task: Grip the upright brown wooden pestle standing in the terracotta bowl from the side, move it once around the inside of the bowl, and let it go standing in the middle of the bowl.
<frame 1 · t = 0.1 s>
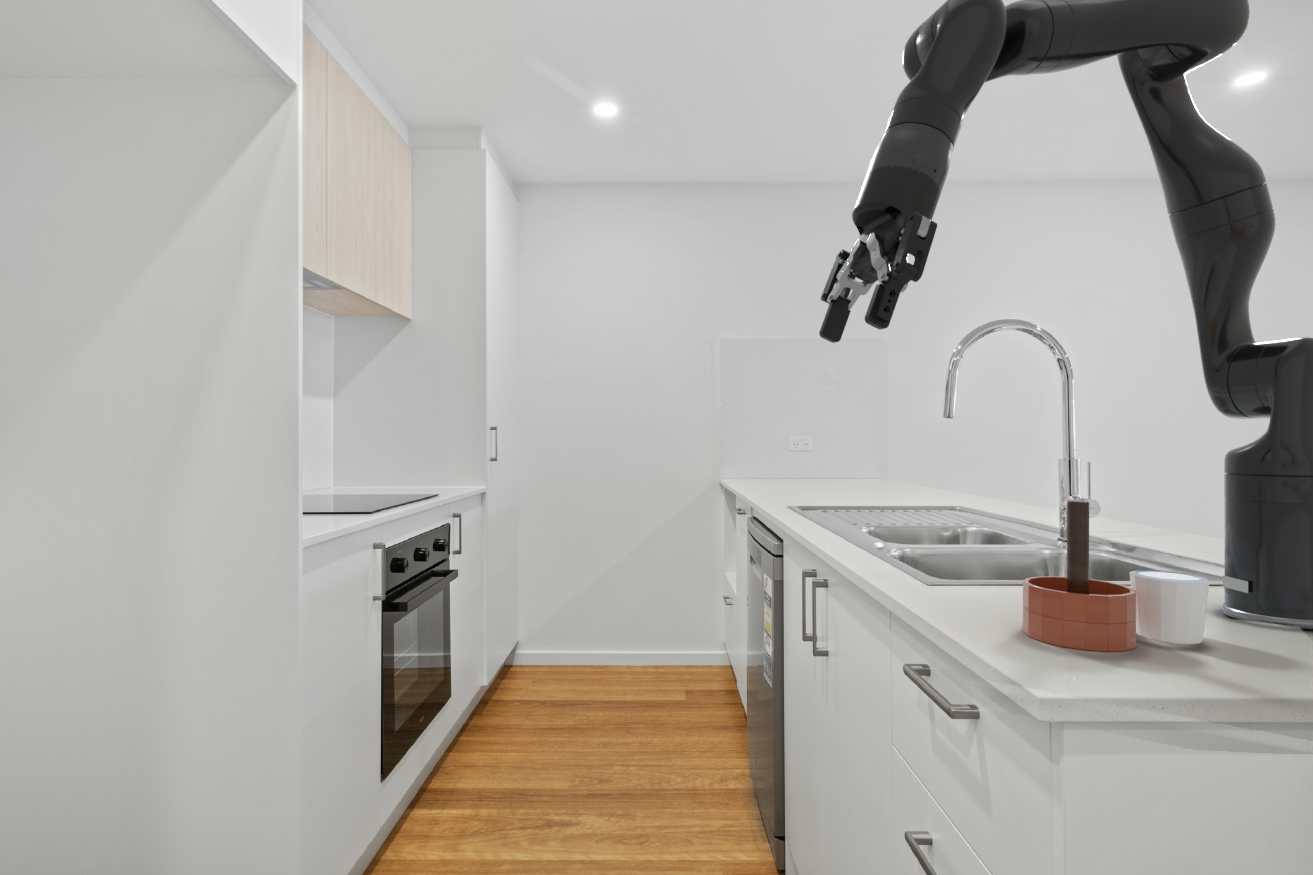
hand: (850, 333, 68), 31 cm above the table, tool tilted 20°, fingers open, 8 cm apart
brown wooden pestle: (1077, 637, 72), point 1 cm above the table, touching bowl
bowl: (1077, 642, 72), on the table
shot glass: (1168, 643, 73), on the table
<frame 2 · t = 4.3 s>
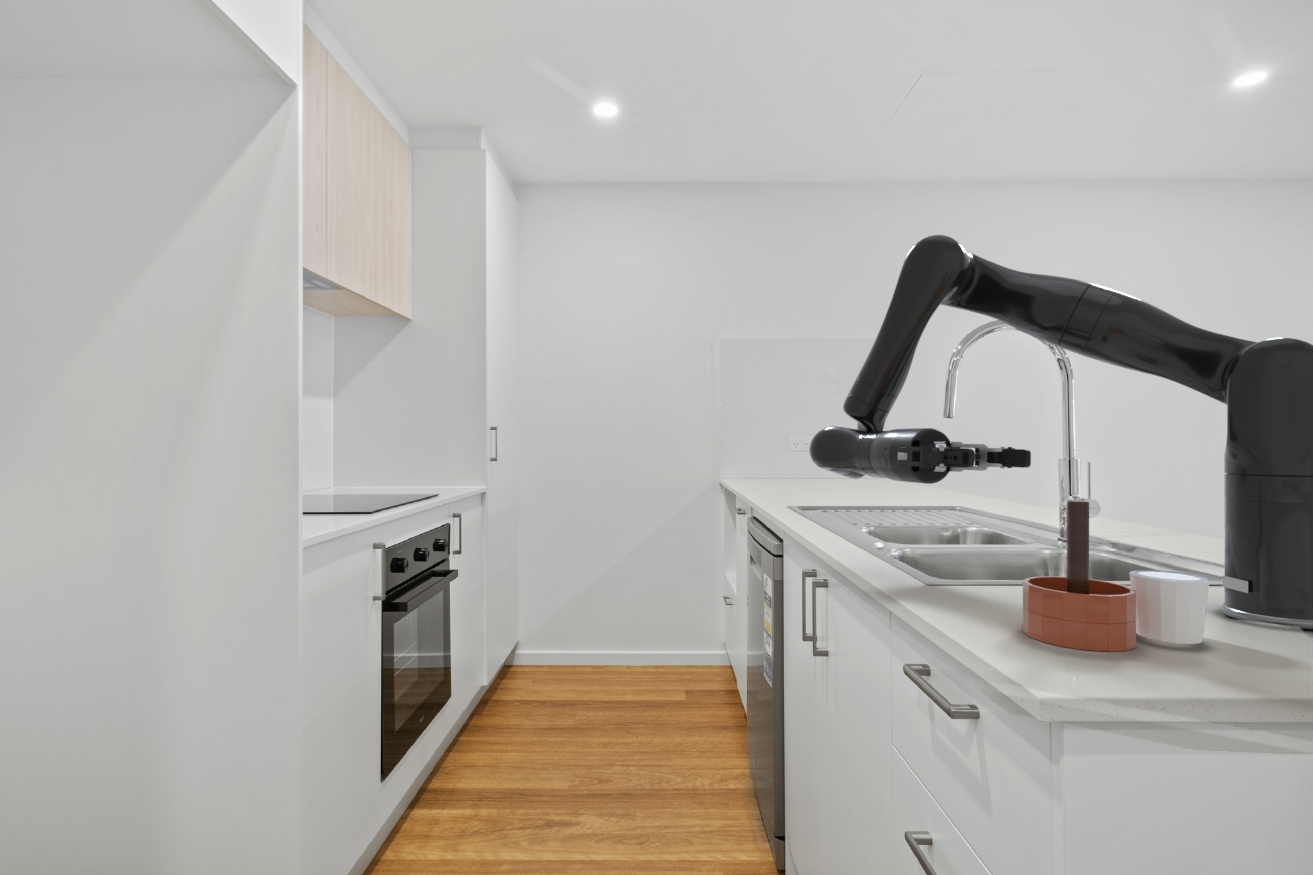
hand: (1000, 458, 82), 19 cm above the table, tool horizontal, fingers open, 8 cm apart
nothing on the table moved.
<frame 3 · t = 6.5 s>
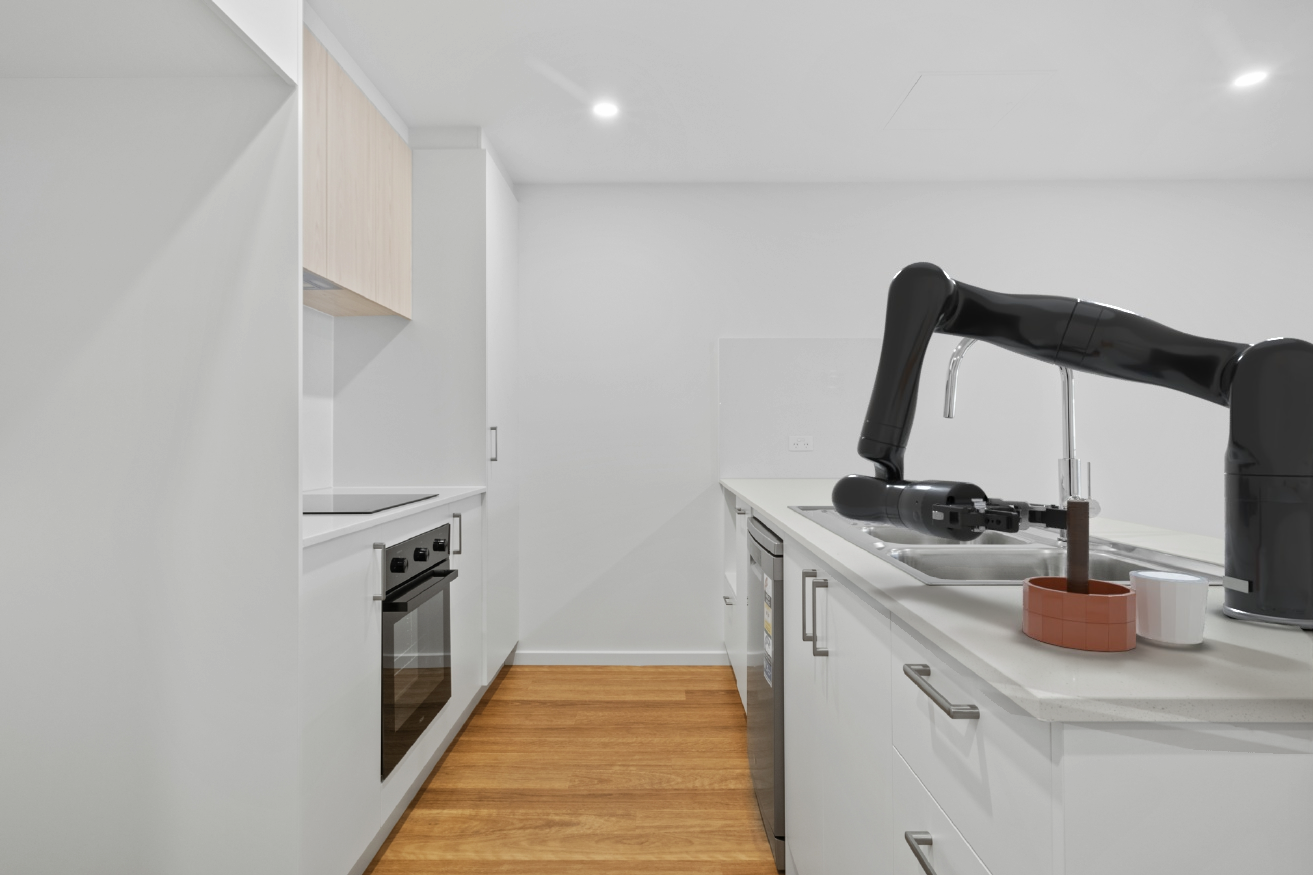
hand: (1047, 522, 76), 12 cm above the table, tool horizontal, fingers open, 8 cm apart
nothing on the table moved.
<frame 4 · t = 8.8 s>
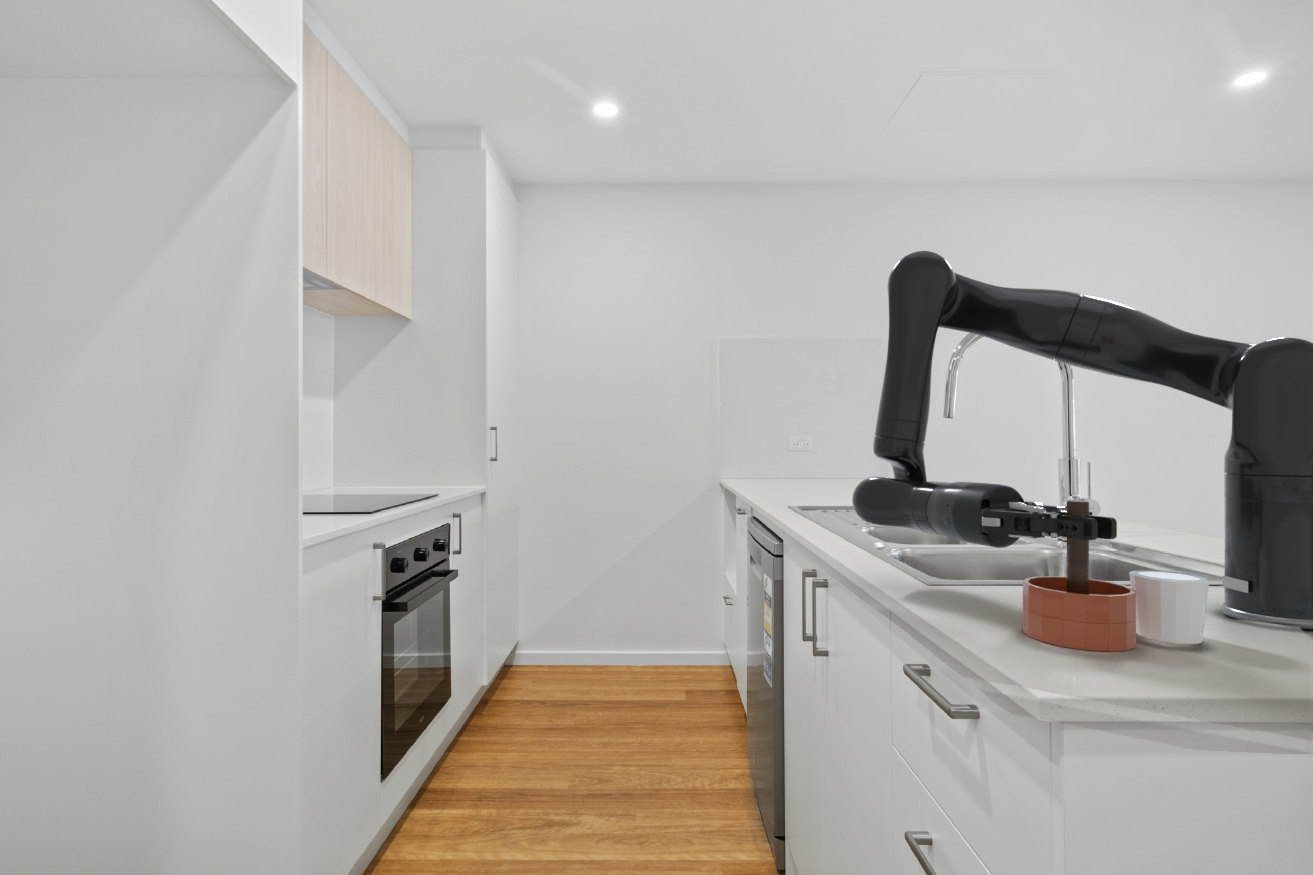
hand: (1104, 529, 70), 12 cm above the table, tool horizontal, fingers closed on brown wooden pestle, 2 cm apart
brown wooden pestle: (1077, 637, 72), point 1 cm above the table, touching bowl, gripper
everything else where it was.
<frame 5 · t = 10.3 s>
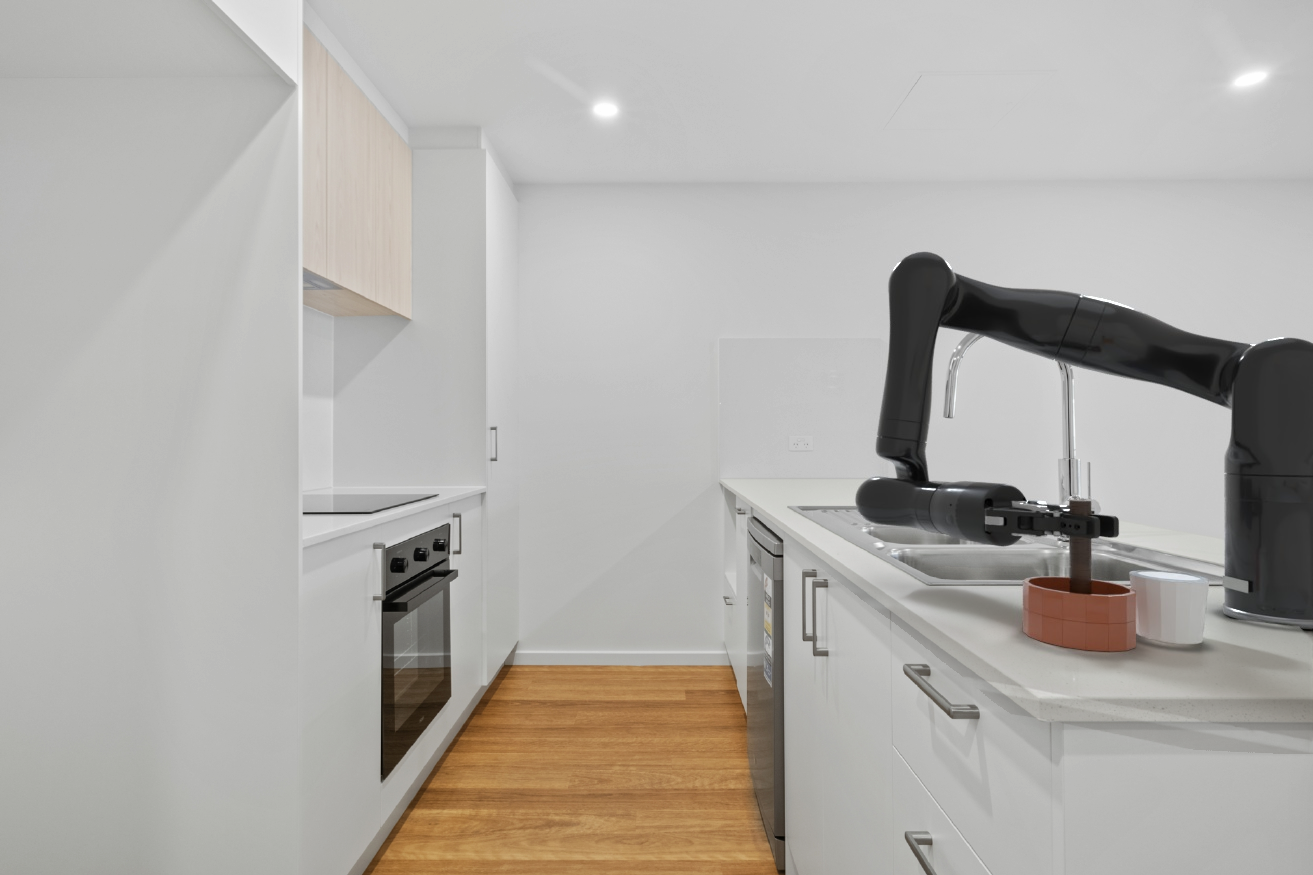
hand: (1106, 527, 70), 12 cm above the table, tool horizontal, fingers closed on brown wooden pestle, 2 cm apart
brown wooden pestle: (1080, 635, 73), point 1 cm above the table, touching gripper
everything else where it was.
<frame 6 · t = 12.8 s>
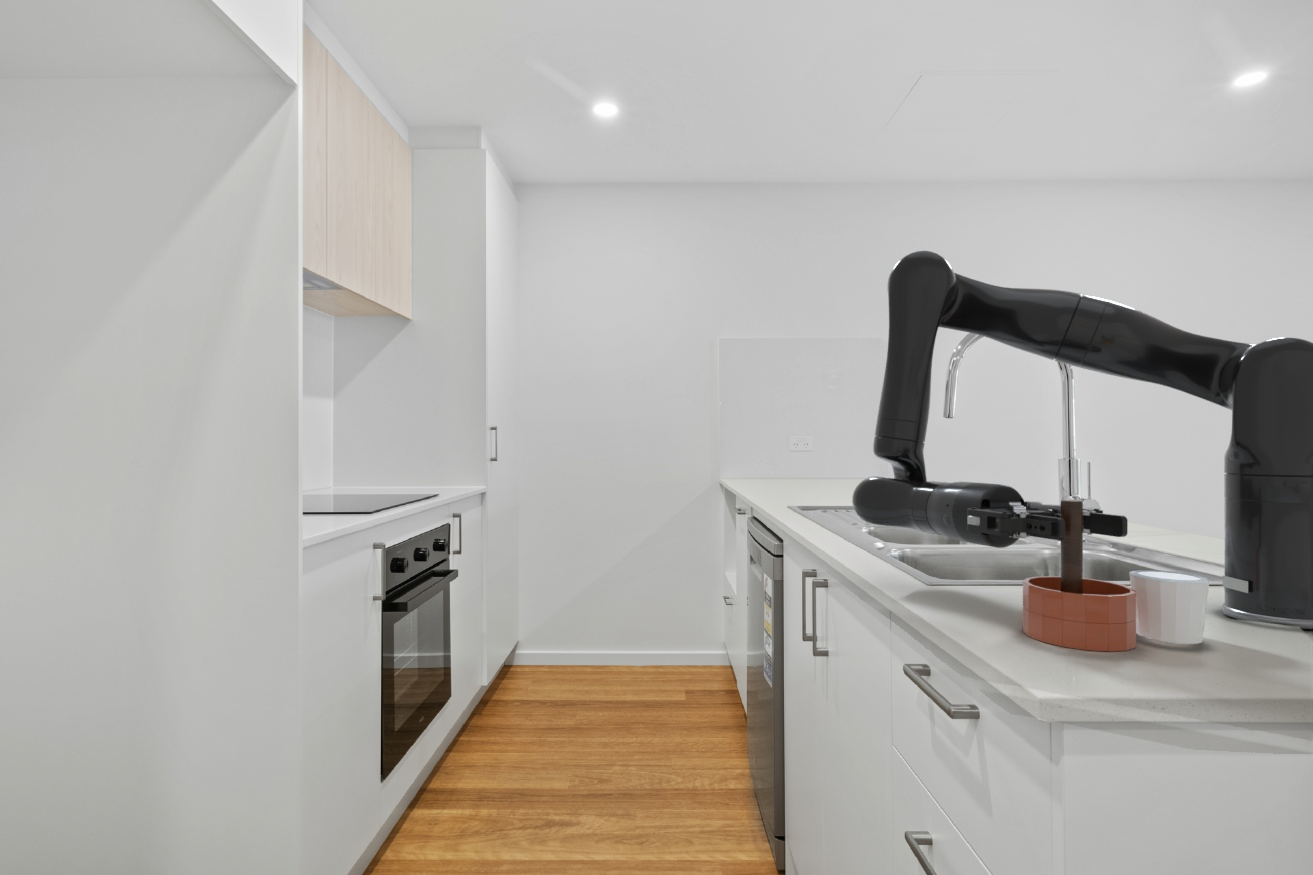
hand: (1094, 528, 71), 12 cm above the table, tool horizontal, fingers open, 8 cm apart
brown wooden pestle: (1071, 635, 73), point 1 cm above the table, touching bowl
everything else where it was.
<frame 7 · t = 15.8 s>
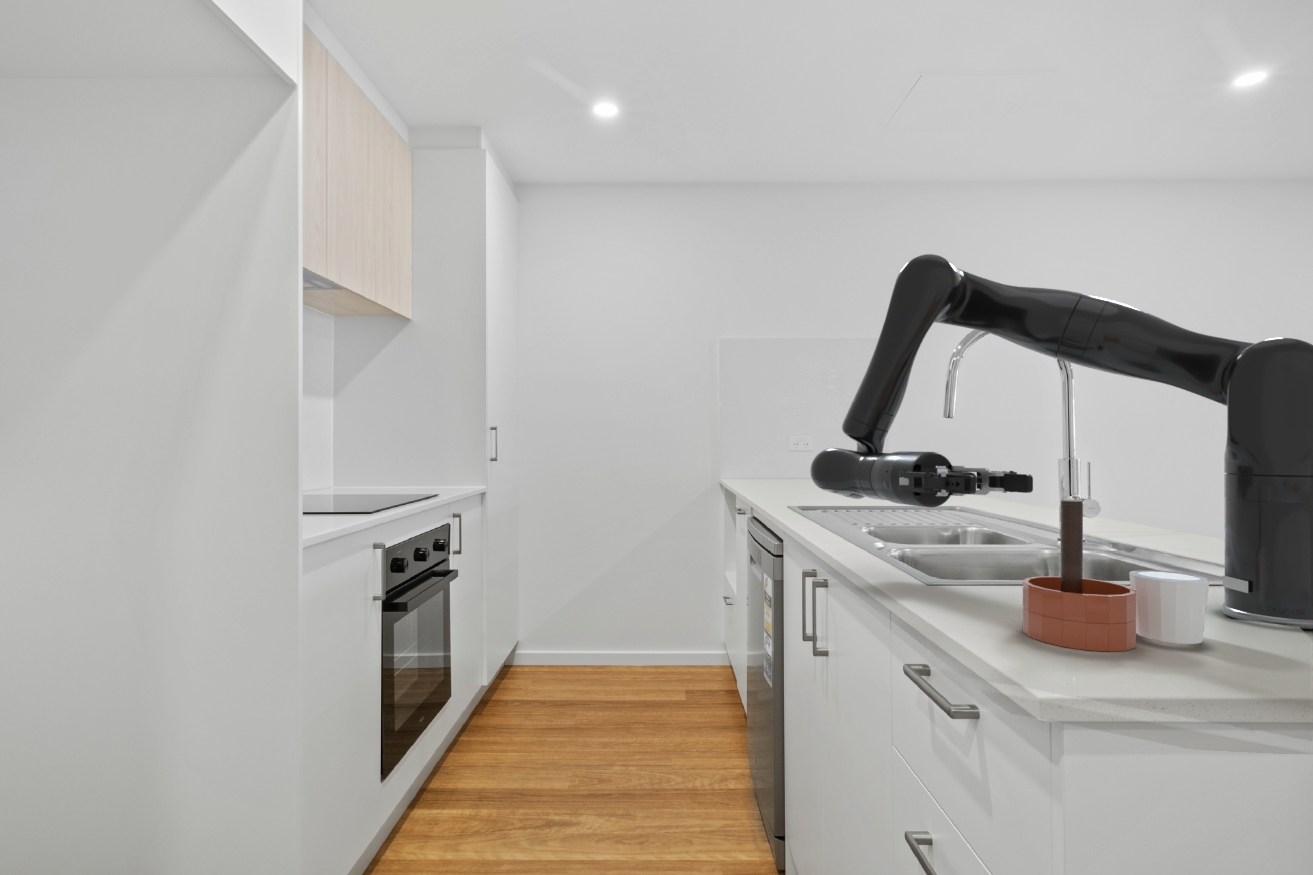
hand: (1002, 484, 82), 16 cm above the table, tool horizontal, fingers open, 8 cm apart
nothing on the table moved.
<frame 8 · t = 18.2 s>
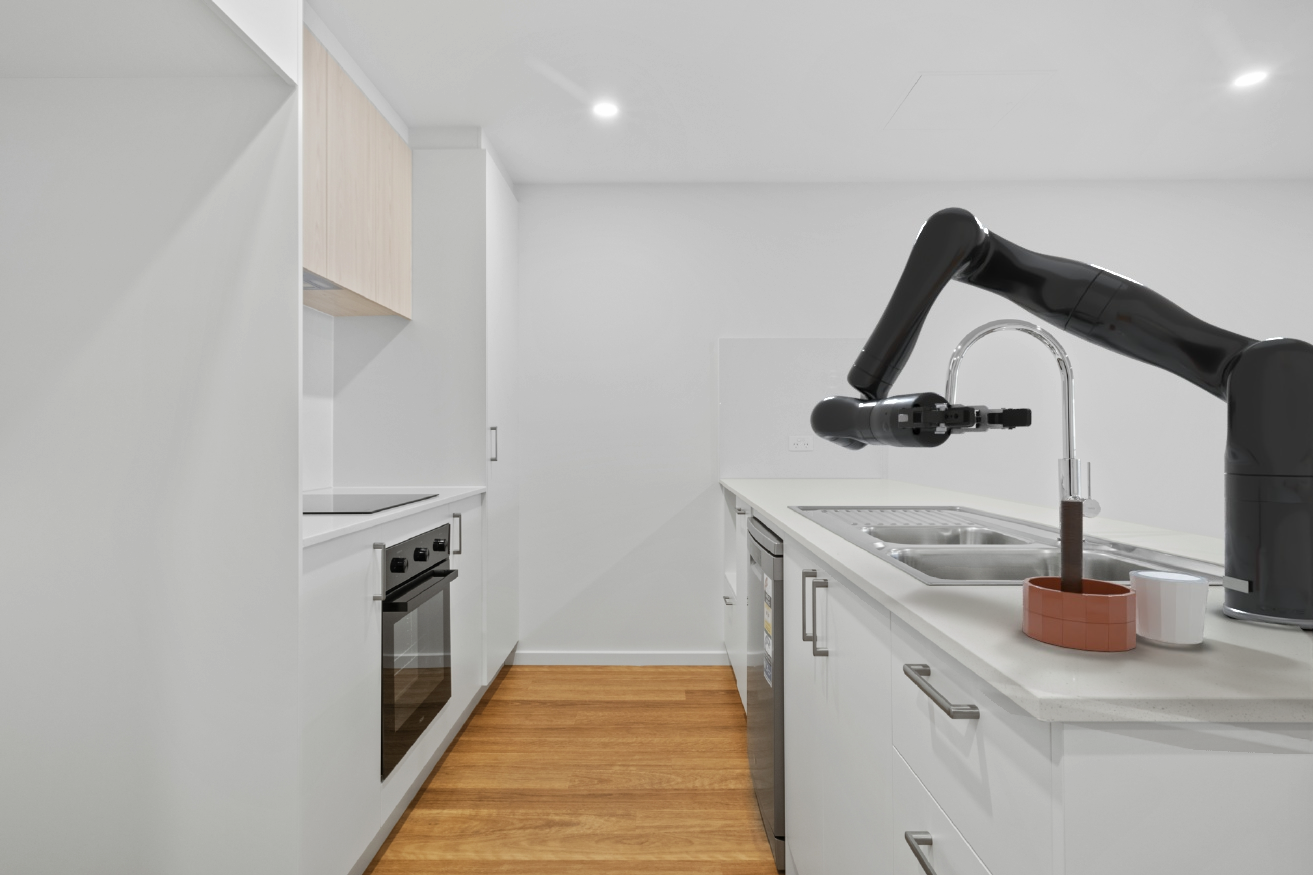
hand: (1001, 416, 82), 24 cm above the table, tool horizontal, fingers open, 8 cm apart
nothing on the table moved.
at the end: brown wooden pestle 0.6 cm from the bowl (horizontally); brown wooden pestle tilted 0°; brown wooden pestle point 0.6 cm above the table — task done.
